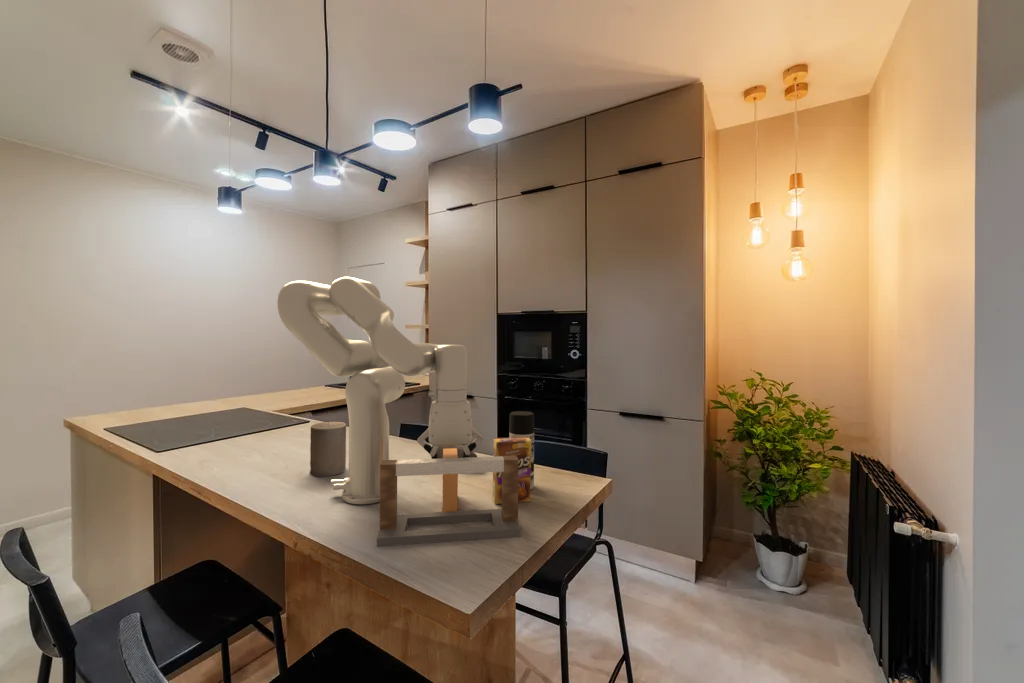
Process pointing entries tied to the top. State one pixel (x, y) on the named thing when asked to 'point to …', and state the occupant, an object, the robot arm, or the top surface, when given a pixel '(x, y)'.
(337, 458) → the pillar candle
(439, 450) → the perforated stone tool
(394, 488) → the crossbar rack
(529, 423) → the spray can
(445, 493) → the orange angular block
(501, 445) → the candy box
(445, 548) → the top surface
